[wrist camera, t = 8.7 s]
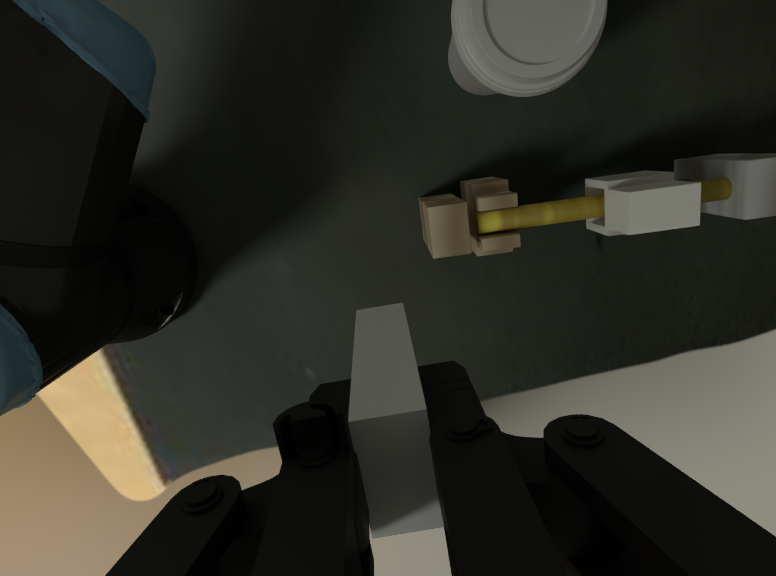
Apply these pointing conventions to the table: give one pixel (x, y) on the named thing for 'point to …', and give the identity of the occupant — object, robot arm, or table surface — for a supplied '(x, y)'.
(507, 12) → the coffee cup
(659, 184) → the grey stepped block
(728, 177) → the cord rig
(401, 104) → the table surface
